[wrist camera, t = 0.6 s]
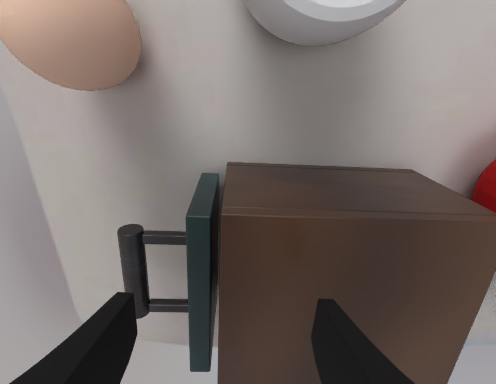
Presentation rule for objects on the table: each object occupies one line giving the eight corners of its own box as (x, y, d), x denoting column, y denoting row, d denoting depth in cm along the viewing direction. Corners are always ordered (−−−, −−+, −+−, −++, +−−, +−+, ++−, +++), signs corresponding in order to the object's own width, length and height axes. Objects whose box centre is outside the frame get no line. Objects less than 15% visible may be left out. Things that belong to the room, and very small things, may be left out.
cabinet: (223, 292, 25) (217, 394, 17) (227, 161, 21) (220, 213, 13) (378, 295, 25) (443, 394, 17) (412, 169, 21) (517, 223, 13)
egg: (116, 105, 19) (34, 123, 11) (49, 36, 17) (-100, 2, 10) (174, 49, 18) (126, 26, 10) (107, -31, 16) (-8, -129, 9)
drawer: (149, 293, 23) (116, 372, 17) (138, 170, 20) (91, 212, 13) (352, 296, 24) (392, 373, 18) (378, 179, 21) (441, 223, 14)
